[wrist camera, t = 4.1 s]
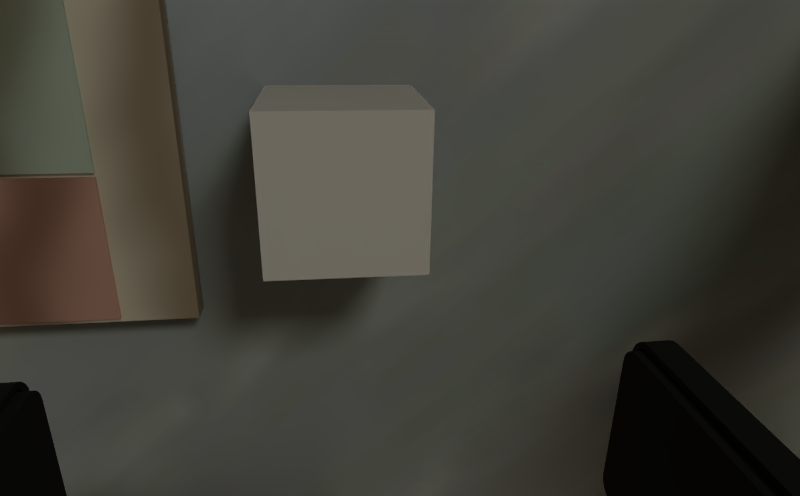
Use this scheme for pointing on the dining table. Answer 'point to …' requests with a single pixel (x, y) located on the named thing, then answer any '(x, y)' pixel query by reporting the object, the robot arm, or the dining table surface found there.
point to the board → (92, 166)
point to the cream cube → (343, 180)
